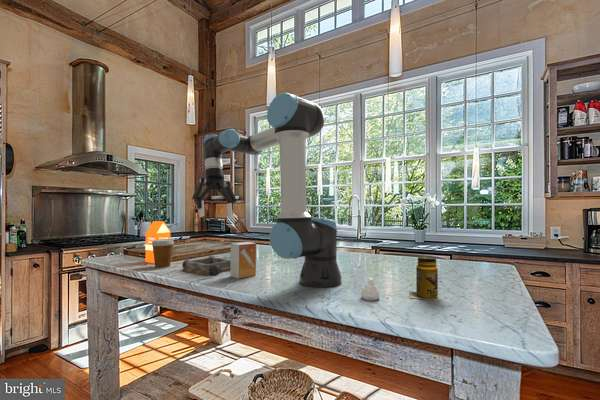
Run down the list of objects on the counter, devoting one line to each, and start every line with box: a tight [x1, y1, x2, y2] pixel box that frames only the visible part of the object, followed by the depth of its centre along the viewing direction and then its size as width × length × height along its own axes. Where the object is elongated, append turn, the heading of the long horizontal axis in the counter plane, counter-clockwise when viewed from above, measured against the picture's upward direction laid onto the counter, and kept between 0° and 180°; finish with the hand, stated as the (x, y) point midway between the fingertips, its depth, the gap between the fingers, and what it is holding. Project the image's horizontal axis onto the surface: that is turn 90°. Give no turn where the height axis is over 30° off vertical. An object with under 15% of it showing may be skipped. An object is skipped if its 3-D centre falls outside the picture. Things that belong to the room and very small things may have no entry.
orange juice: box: [144, 220, 171, 264], centre depth 153 cm, size 8×9×20 cm
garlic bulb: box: [360, 277, 380, 301], centre depth 93 cm, size 6×6×5 cm
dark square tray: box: [181, 255, 231, 277], centre depth 134 cm, size 20×19×4 cm
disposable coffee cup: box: [151, 238, 175, 269], centre depth 140 cm, size 10×10×12 cm
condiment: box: [408, 256, 441, 302], centre depth 94 cm, size 7×8×12 cm
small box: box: [229, 241, 257, 280], centre depth 121 cm, size 8×6×13 cm
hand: (216, 217), depth 130 cm, fingers open, 13 cm apart
